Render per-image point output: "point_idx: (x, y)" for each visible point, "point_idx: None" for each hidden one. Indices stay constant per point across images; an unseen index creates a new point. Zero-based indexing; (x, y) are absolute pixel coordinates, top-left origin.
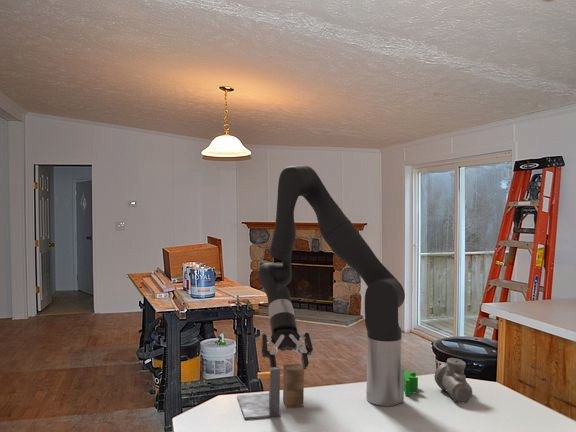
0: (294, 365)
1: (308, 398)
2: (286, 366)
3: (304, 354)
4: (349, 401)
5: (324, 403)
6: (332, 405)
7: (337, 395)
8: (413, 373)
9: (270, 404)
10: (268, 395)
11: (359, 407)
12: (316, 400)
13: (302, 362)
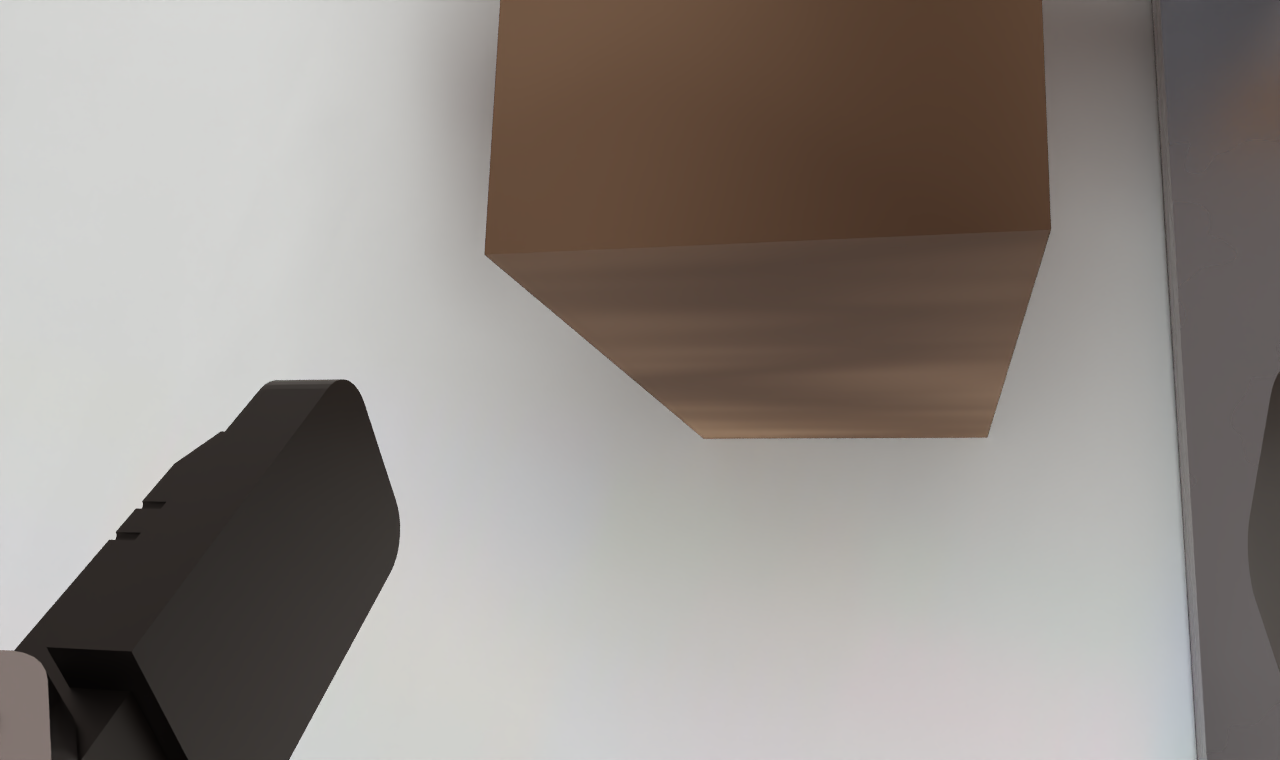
0: (688, 117)
1: (534, 500)
2: (980, 36)
3: (83, 628)
4: (46, 279)
5: (376, 262)
6: (302, 177)
7: (92, 530)
8: None
9: None
10: (1248, 690)
11: (29, 73)
12: (444, 394)
13: (310, 643)
